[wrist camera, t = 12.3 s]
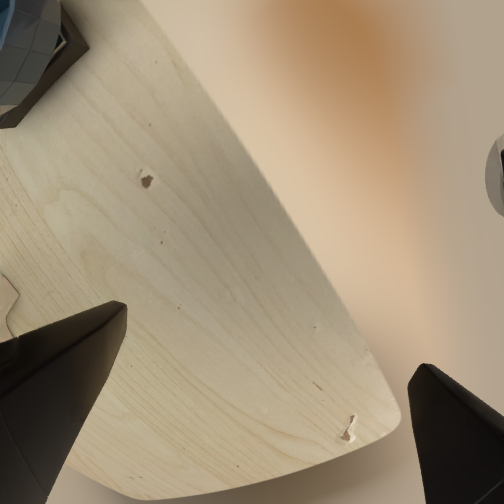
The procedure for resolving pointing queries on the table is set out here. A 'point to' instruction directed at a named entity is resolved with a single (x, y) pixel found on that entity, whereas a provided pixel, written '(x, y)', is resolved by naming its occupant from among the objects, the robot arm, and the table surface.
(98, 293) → the table surface
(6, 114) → the scale
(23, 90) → the bowl
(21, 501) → the robot arm
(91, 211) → the table surface
